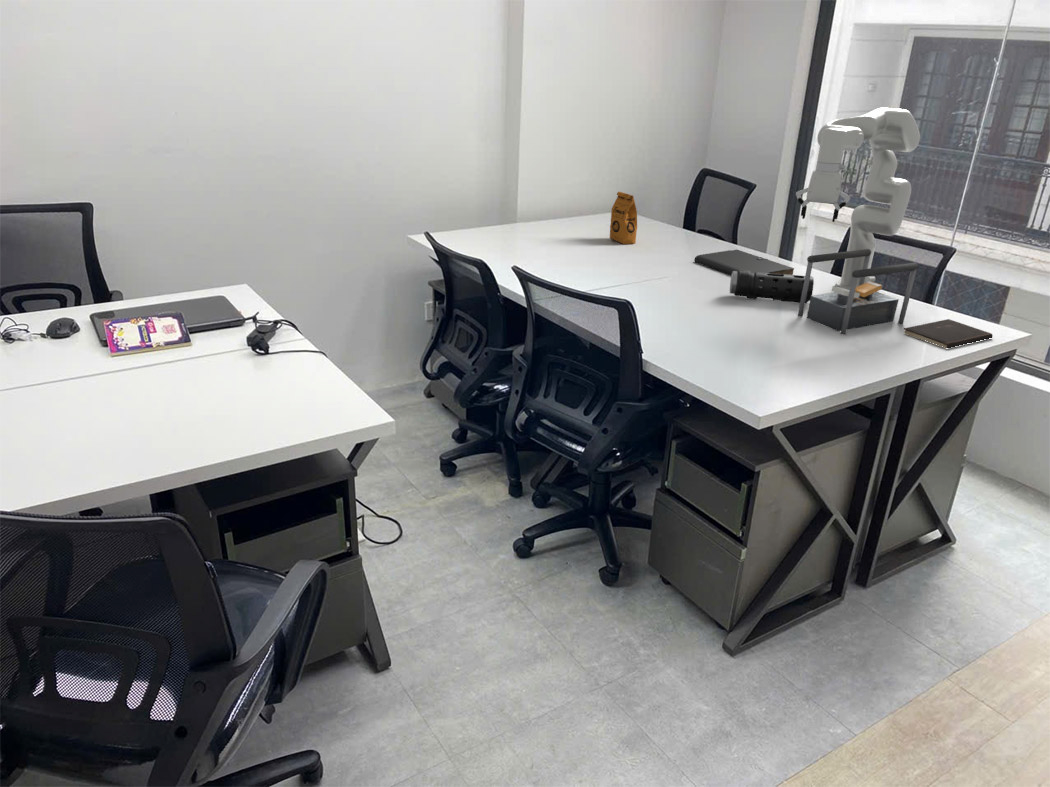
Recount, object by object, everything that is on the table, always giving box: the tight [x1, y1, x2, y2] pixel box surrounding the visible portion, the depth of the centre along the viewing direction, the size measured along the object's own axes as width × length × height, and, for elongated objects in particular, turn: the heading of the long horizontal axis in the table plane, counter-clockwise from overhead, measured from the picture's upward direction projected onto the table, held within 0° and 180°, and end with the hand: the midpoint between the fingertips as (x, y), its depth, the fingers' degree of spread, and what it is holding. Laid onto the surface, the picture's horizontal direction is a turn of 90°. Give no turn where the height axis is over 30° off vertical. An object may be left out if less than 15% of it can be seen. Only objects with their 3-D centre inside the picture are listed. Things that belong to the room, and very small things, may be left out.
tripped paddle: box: [855, 281, 883, 297], centre depth 262 cm, size 8×5×2 cm, turn 116°
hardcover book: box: [903, 318, 993, 349], centre depth 252 cm, size 16×23×2 cm
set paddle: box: [830, 286, 860, 298], centre depth 258 cm, size 8×5×2 cm, turn 117°
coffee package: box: [609, 191, 638, 245], centre depth 353 cm, size 10×12×22 cm
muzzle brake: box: [729, 270, 815, 304], centre depth 280 cm, size 10×28×10 cm, turn 78°
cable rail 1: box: [797, 249, 871, 318], centre depth 267 cm, size 29×2×21 cm, turn 116°
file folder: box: [694, 249, 795, 276], centre depth 320 cm, size 33×4×24 cm
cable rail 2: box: [840, 262, 919, 336], centre depth 252 cm, size 29×2×21 cm, turn 116°
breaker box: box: [806, 291, 900, 332], centre depth 262 cm, size 26×14×9 cm, turn 117°
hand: (818, 219), depth 261 cm, fingers open, 9 cm apart
